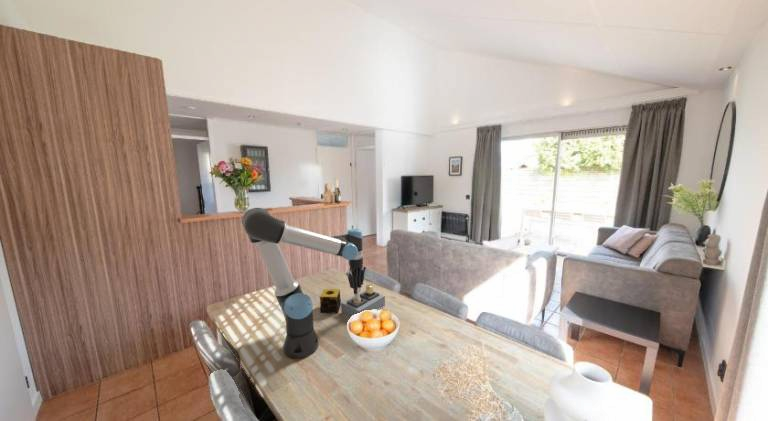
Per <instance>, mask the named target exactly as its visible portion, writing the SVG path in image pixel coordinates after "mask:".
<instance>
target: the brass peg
mask: <svg viewBox="0 0 768 421" xmlns="http://www.w3.org/2000/svg"><path fill="white" fill-rule="evenodd" d="M365 290H366V296H368V297H371V296H373V291H374V285H373V284H366V285H365Z"/></svg>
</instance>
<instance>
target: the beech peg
mask: <svg viewBox="0 0 768 421" xmlns="http://www.w3.org/2000/svg"><path fill="white" fill-rule="evenodd" d="M353 301H354V303H356V304H358V303H360V302H361V298H360V299H359V300H357V299H355V298H354V299H353Z"/></svg>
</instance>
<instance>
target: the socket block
mask: <svg viewBox="0 0 768 421" xmlns="http://www.w3.org/2000/svg"><path fill="white" fill-rule="evenodd" d="M354 298H355V295H353V296H352V297H350V298H348V299H346V300H343V301H341V305H340V310H341V313H342V314H343V315H345V316H348V317H349V318H351V316H352V315H354V314H357V313H360V312H362V311H364V310H372V309H379V308H381V307H382V308H383V306H384V307H385V306H386V295H383V294H381V293H378V292H376V291H374V290H373V296H371V297H368V296H366V289H365V290H364V291H360V298H361V302H360V303H358V304H356V303H354V301H353V299H354ZM382 308H381V309H382ZM379 310H380V309H379Z"/></svg>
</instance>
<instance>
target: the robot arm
mask: <svg viewBox="0 0 768 421" xmlns="http://www.w3.org/2000/svg"><path fill="white" fill-rule="evenodd" d="M241 224H242V227H243V228H244V231H245V233H246V234H247V237H248V238H249V241H250V243H251V244H253V245H256V247H257V250H258V252H259V254H260V256H261V258H262V260H263V262H264V264H265V267H266V269H267V271H268V273H269V277H271V281H272V282H273V285H274V287H275V290H274V295H275V298H276V300H277V304H278V305H279V307H280V309H281V311H282V313H283V316H284V320H285V330H286V335H285V339H284V344H283V353H284V355H285V356H286V357H288V358H289V359H295V360H298V359H303V358H306V357H309V356H310V355H313V353H315V352H316V351H317V349H318V348H319V345H320V344H319V338H318V336H317V333H316V330H315V329H314V311H313V310H314V309H313V308H314V304H313V300H312V297H311V296H310V295H308V294H304V292H303V289H302V287H301V285H300V283H299V281H298V280H295V279H294V277H293V275H292V273H291V272H292V271H291V270H290V267H289V265H288V263H287V260H286V258H285V256H284V254H283V251H282V249H281V246H280V244H281V243H283V244H287V245H292V246H295V247H296V246H297V247H300V248H303V249H304V248H305V249H310V250H313V251H315V252H320V253H325V254H330V255H334V256H337V257H342V258H343V259H344V260H347V261H348V266H349V270H348V272H346V273H345V275H346V277H347V278H348V283H349V288H350V289H353V294H354V295H353V296H355V299H357V300H359V299H360V293H361V288H362V287H363V285H364V281H365V280H364V278H365V272H366V269H367V267H366V266H363V265H364V258H363V256H364V255H363V253H364V251H363V233H362V230H361V229H359V228H350V229H348V230H347V233H346V234H340V235H332V236H329V235H325V234H321V233H318V232H314V231H311V230H307V229H303V228H301V227H298V226H297V227H296V226H293V225H290V224H288V223H287V222H286V221H285V220H281V219H278V218H276V217H274V216H273V215H271V214H270V213H269V211H268V210H266V209H265V208H262V207H253V208H250V209H248V210H247V211H246V212H245V213H244V214H243V216H242V219H241Z"/></svg>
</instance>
